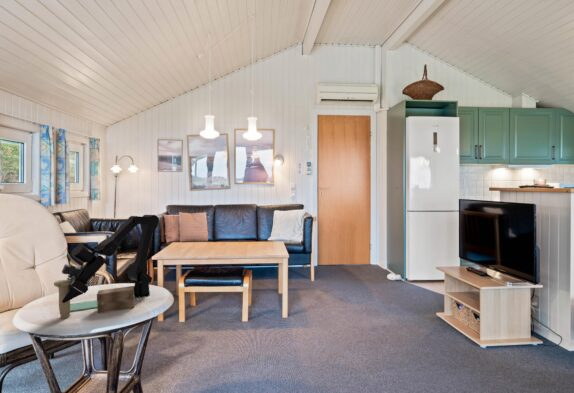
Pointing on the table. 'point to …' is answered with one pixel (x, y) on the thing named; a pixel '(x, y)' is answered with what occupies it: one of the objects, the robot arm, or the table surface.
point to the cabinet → (115, 299)
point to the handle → (63, 290)
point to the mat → (83, 306)
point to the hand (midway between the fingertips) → (62, 299)
